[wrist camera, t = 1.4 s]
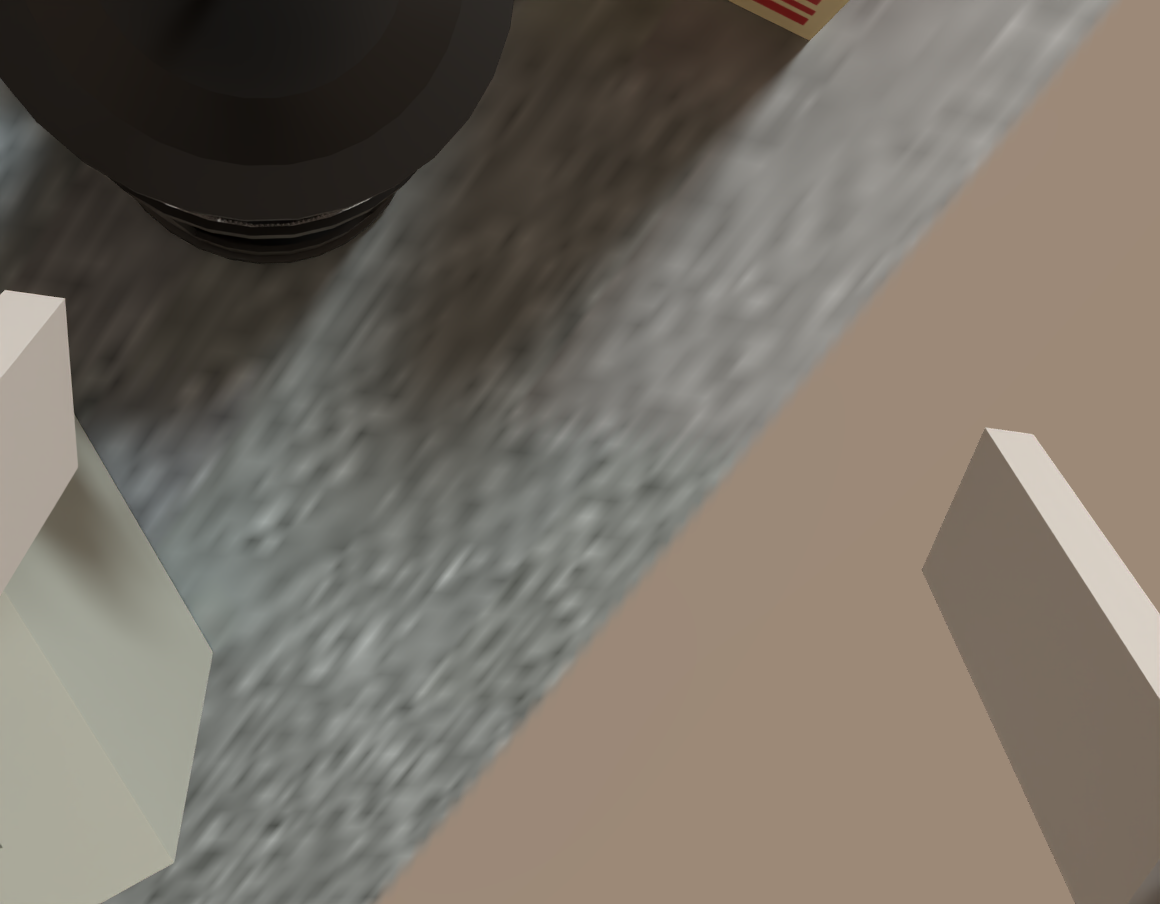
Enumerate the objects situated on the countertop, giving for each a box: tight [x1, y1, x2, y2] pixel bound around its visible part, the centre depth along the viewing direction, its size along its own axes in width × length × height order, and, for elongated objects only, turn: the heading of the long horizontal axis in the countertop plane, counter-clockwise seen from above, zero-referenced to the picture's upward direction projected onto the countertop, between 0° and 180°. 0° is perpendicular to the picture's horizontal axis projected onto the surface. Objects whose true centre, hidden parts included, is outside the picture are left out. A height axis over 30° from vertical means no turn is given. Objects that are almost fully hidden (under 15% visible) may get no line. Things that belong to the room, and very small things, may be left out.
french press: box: [0, 0, 514, 264], centre depth 23 cm, size 12×9×23 cm
